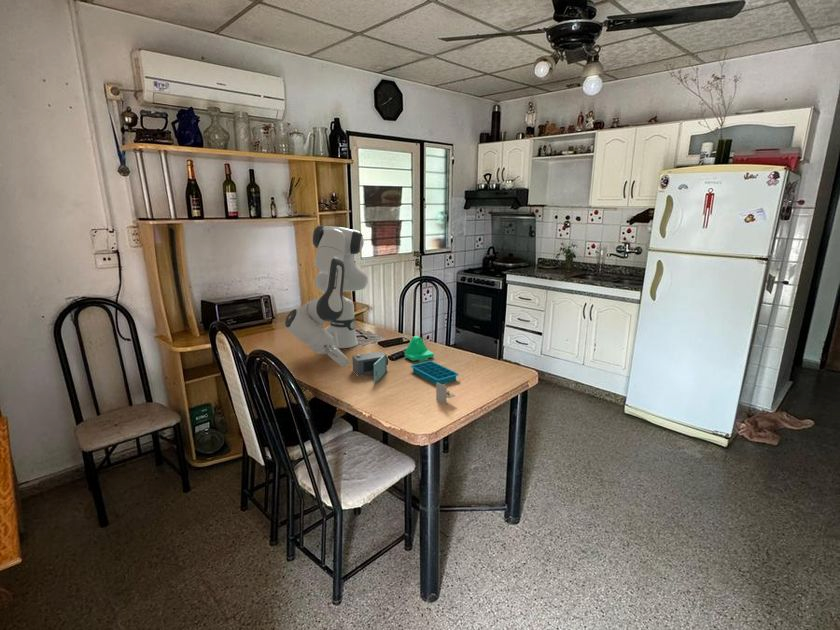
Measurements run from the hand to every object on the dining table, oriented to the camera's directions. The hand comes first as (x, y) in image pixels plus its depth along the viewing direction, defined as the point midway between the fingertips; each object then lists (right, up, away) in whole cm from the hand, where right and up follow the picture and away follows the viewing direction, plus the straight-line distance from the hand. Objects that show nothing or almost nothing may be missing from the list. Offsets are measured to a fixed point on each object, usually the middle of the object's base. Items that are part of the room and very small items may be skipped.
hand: (347, 363), depth 173 cm
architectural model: (+37, -14, -11) cm, 41 cm away
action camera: (+7, -5, +18) cm, 20 cm away
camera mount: (+28, -2, +35) cm, 45 cm away
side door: (+12, -7, +11) cm, 18 cm away
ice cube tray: (+34, -7, +13) cm, 38 cm away
